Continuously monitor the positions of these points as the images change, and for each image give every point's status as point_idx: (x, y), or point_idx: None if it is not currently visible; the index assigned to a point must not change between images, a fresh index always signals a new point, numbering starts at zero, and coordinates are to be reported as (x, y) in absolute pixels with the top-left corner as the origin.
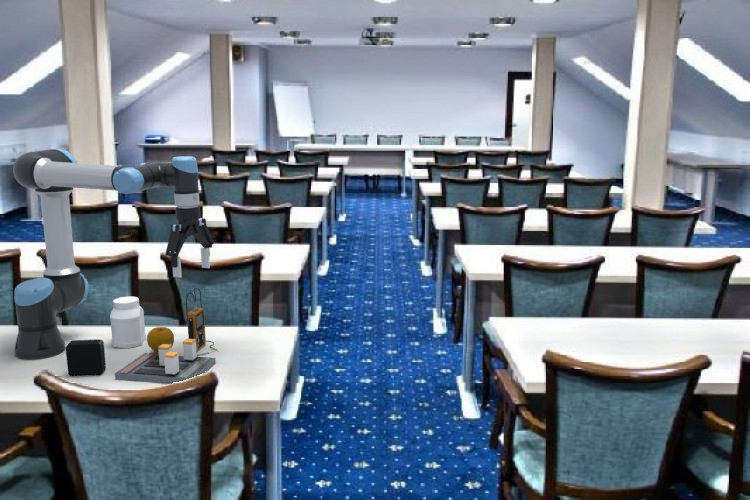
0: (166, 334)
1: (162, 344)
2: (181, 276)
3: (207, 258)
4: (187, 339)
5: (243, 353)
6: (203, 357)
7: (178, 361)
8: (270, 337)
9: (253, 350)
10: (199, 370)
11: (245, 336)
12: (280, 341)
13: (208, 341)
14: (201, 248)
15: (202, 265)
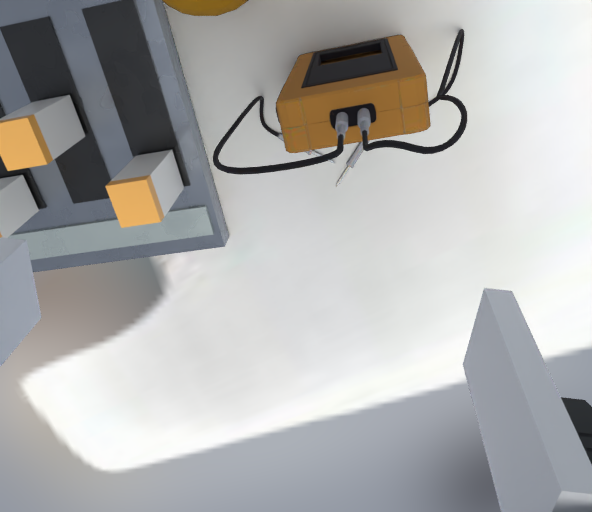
0: (177, 3)
1: (21, 121)
2: (36, 321)
3: (485, 447)
4: (138, 189)
5: (361, 273)
6: (198, 210)
7: (17, 227)
8: (574, 281)
9: (404, 290)
10: (96, 260)
11: (570, 181)
12: (531, 333)
13: (457, 56)
14: (555, 495)
15: (487, 311)
